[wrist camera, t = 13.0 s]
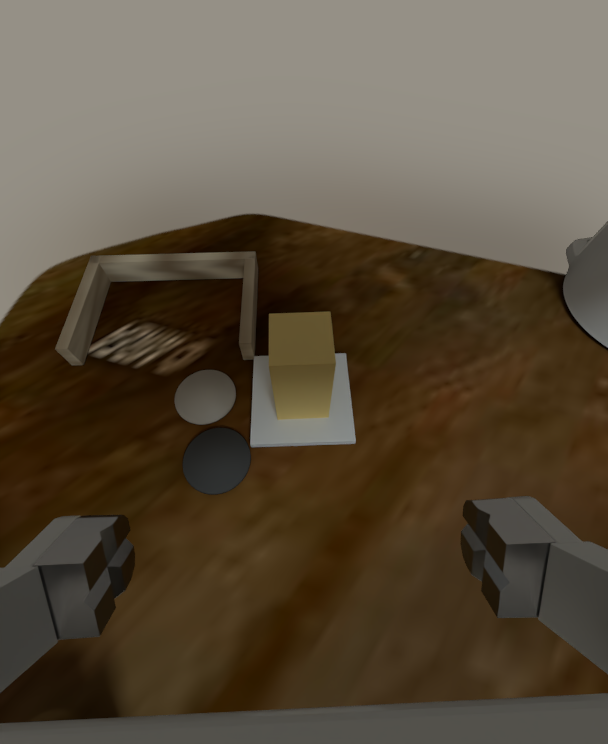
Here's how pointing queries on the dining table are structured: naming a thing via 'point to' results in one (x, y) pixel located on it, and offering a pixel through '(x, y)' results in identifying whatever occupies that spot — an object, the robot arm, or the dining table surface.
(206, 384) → the painted circle
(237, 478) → the hole disc
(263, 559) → the dining table surface
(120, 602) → the dining table surface
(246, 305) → the cubby
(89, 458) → the dining table surface
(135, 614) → the dining table surface
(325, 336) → the ochre block
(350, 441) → the pad
